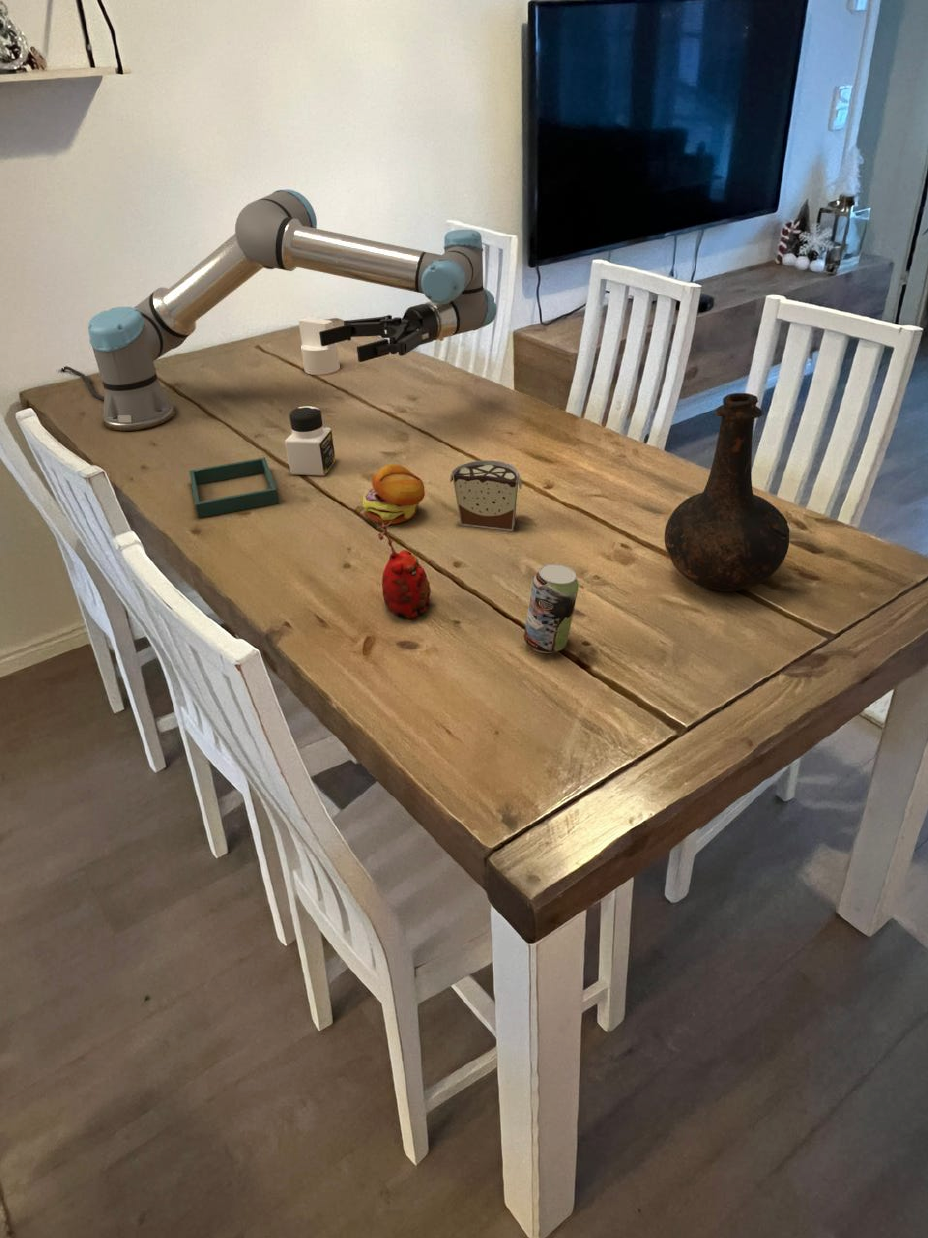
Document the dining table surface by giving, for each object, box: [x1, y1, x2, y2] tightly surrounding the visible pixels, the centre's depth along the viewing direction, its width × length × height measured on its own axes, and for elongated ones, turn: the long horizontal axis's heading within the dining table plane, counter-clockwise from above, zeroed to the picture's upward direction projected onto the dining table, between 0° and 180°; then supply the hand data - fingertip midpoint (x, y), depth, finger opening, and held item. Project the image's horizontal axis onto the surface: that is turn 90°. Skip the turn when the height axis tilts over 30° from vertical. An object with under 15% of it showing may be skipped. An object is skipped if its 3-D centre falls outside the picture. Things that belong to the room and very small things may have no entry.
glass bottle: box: [664, 392, 790, 592], centre depth 130 cm, size 18×18×28 cm
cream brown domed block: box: [449, 459, 523, 532], centre depth 154 cm, size 12×6×10 cm, turn 71°
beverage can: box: [523, 563, 580, 654], centre depth 122 cm, size 6×7×12 cm
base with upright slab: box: [298, 317, 341, 376], centre depth 225 cm, size 9×9×12 cm
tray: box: [189, 457, 280, 519], centre depth 170 cm, size 16×15×3 cm
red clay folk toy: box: [376, 519, 432, 620], centre depth 131 cm, size 8×7×15 cm
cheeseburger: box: [362, 463, 426, 525], centre depth 158 cm, size 10×11×10 cm
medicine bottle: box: [284, 405, 336, 477], centre depth 175 cm, size 7×7×12 cm
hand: (339, 346), depth 172 cm, fingers open, 13 cm apart
